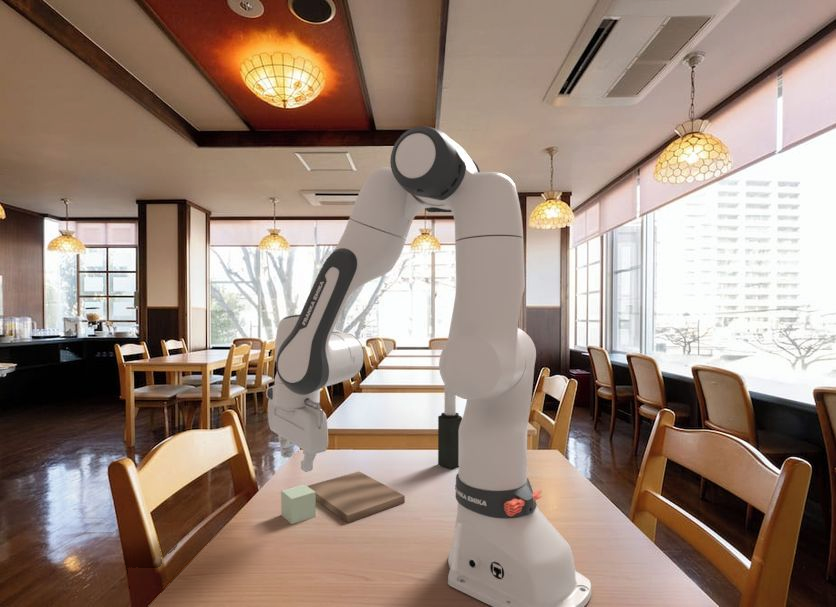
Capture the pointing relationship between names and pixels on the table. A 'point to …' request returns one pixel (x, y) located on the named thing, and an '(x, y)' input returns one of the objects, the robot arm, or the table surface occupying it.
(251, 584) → the table surface
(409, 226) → the robot arm
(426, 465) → the table surface
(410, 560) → the table surface
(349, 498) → the serving board
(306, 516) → the cube
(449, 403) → the black and grey rod
